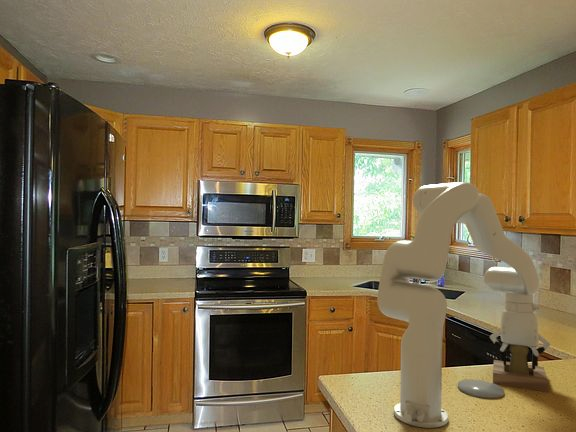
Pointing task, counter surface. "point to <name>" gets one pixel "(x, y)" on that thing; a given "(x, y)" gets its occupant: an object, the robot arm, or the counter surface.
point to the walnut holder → (520, 377)
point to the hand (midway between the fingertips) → (518, 365)
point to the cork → (519, 359)
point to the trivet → (480, 389)
